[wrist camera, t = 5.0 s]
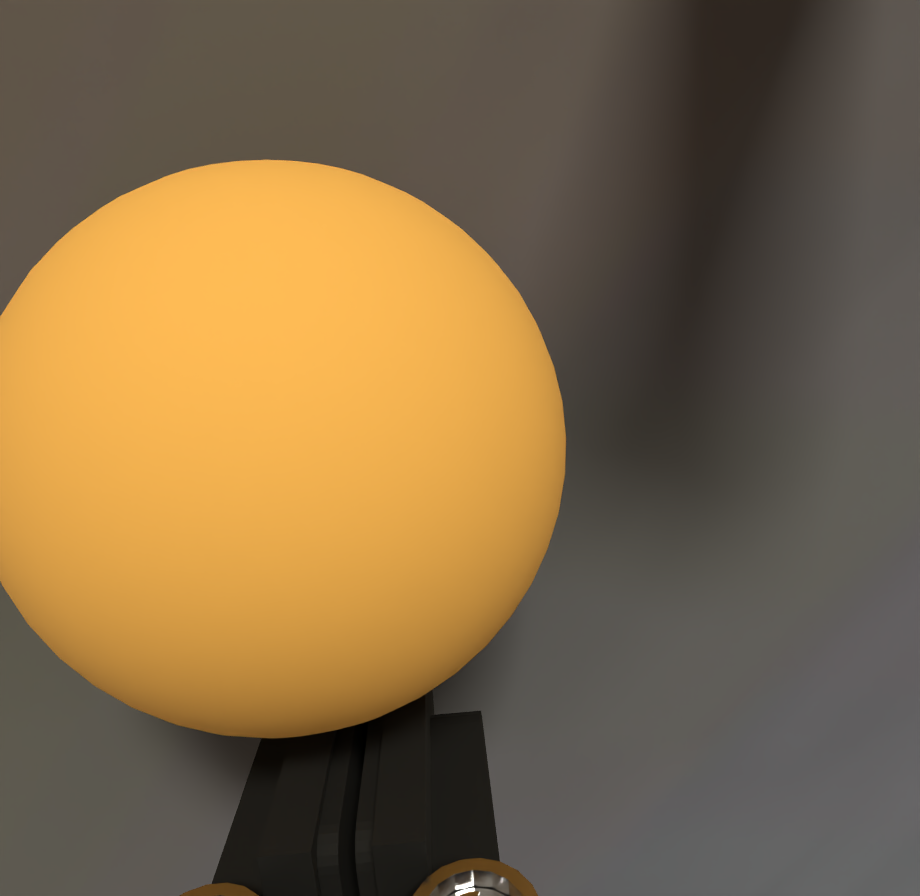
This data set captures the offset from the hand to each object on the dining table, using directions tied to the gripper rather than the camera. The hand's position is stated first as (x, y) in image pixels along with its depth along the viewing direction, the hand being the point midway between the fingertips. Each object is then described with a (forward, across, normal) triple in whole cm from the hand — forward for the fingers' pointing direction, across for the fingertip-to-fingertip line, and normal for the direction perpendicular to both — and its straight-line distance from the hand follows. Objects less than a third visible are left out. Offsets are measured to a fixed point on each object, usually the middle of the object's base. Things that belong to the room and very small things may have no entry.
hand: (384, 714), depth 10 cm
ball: (-2, 0, -5) cm, 5 cm away
